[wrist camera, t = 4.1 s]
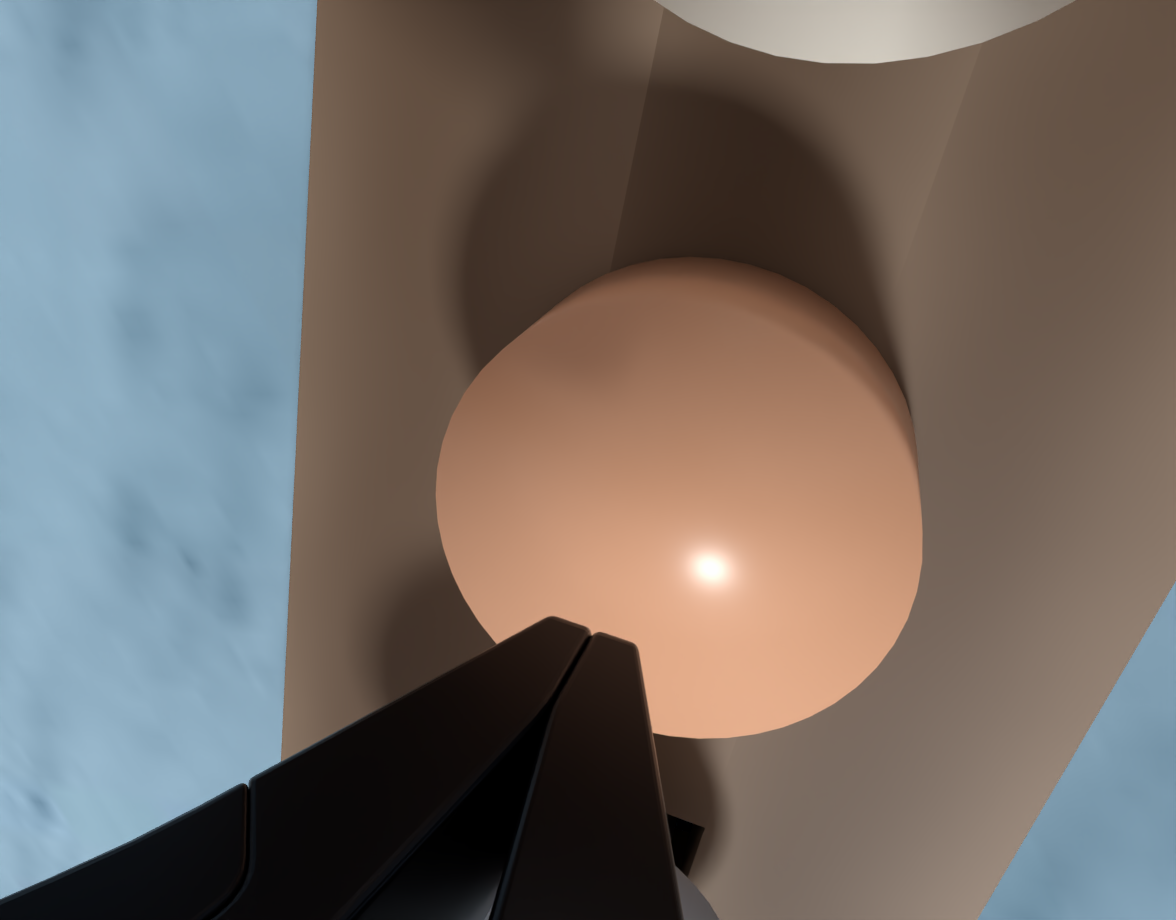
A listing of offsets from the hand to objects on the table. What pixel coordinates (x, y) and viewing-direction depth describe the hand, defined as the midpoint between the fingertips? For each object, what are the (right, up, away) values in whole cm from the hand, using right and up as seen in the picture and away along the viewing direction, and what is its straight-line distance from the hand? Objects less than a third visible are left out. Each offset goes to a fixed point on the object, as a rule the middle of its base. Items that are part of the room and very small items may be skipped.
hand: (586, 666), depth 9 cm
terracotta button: (+2, +3, +6) cm, 7 cm away
